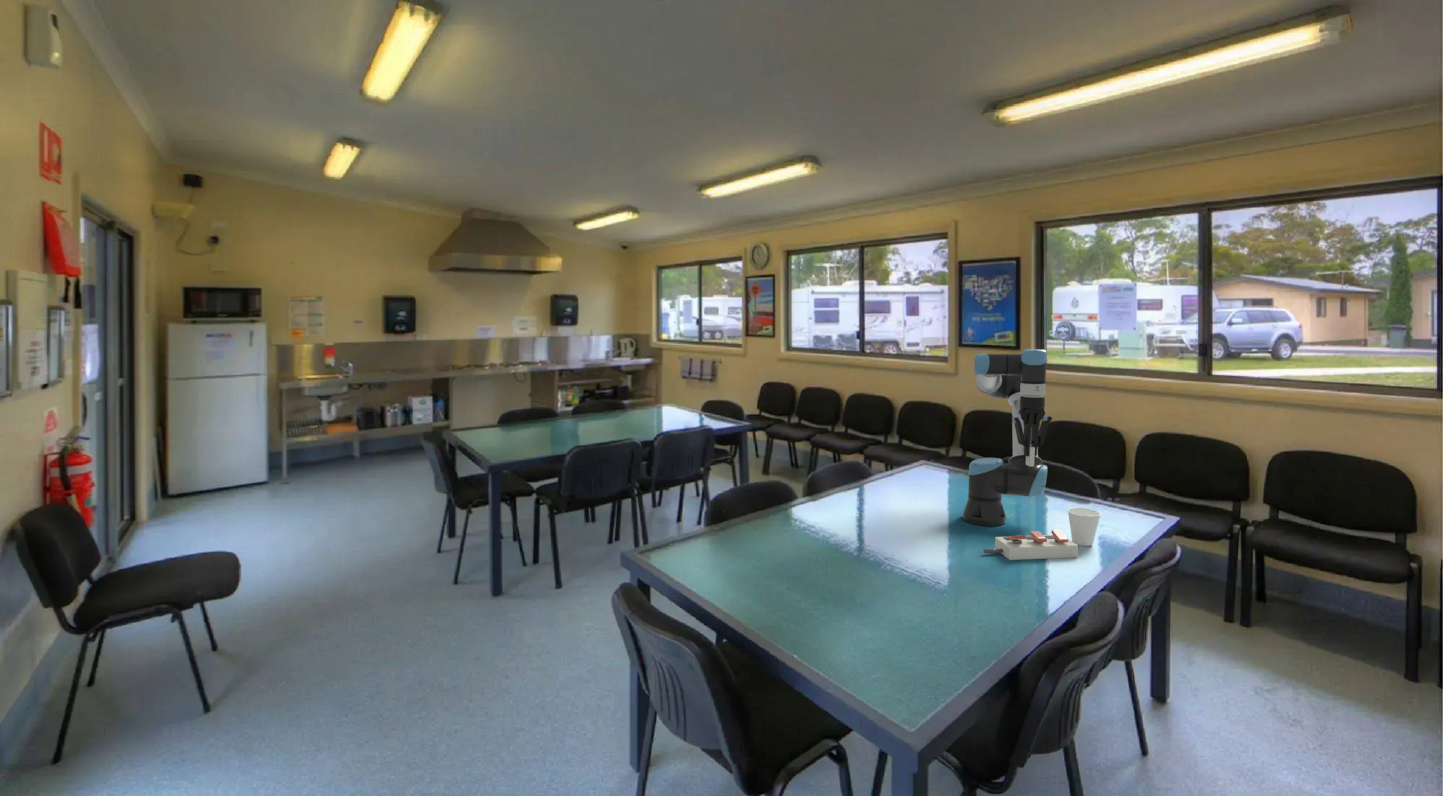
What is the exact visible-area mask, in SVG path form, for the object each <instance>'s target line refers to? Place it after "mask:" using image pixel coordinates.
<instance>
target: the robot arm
mask: <svg viewBox="0 0 1443 796" xmlns="http://www.w3.org/2000/svg"><path fill="white" fill-rule="evenodd" d="M1047 354H1048V353H1047V351H1046V350H1045V349H1040V348H1038V349H1037V348H1036V349H1033V348H1032V349H1031V348H1030V349H1023V350H1022V351H1021V353H987V352H985V353H977V354H975V355H974V361H973V362H974V363H973V369H974V370H973V374H975V376H976V377H975V386H976V387H977V389H978V391H980V392H981V393H983V394H984V395H986V396H988V397H991V398H994V399H1004V400H1005V399H1007V403H1008V404H1009V405H1010V406H1011V411H1012V413H1011V414H1012V415H1011V423H1012V424H1011V425H1012V456H1011V457H1010V458H1009V459H1008V461H1007V463H1005V462H1004V461H1003V459H1002V458H999V457H982V458H977V459H974V460H972V461H971V462H970V463H969V465H968V472H967V474H968V486H967V487H968V490H967V491H968V493H967V501H966V503H965V505H964V508H963V511H962V520H964V521H965V522H967V523H969V524H973V525H978V526H986V527H987V526H988V527H991V526H994V527H995V526H1001V525H1005V523H1006V522H1007V515H1006V512H1005V509H1004V506H1003V502H1002V497H1003V496H1002V495H1007V496H1008V495H1009V496H1019V497H1020V496H1021V497H1029V498H1032V497H1034V498H1035V497H1038V498H1039V497H1042V496H1043V495H1044V493H1045V490H1046V484H1047V477H1048V465H1046V464H1044V463H1043V462H1044V461H1043V459H1041V457H1039V452H1038V448H1039V447H1040V446H1041V445H1044V444H1045V443H1044V442H1045V438H1046V435H1047V431H1048V428H1049V425H1050V422H1051V421H1052V420H1053V417H1052V416H1050V415H1048V414H1046V411H1045V407H1046V406H1045V405H1046V398H1045V395H1046V383H1047V382H1046V380H1047V379H1046V375H1047V362H1048V359H1047V358H1048V357H1047V356H1048V355H1047Z"/></svg>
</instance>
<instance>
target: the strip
mask: <svg viewBox="0 0 1443 796" xmlns="http://www.w3.org/2000/svg"><path fill="white" fill-rule="evenodd" d="M1043 535H1044V536H1045V537H1046V538H1047V542H1037V541H1036V540H1035V539H1034V538H1033V537H1032V536H1031V535H1025V539H1013V540H1009V536H995V537H994V538H995V540H994V548H989V549H988V548H985V549H983V550H982V553H983V554H994V553H995V554H998V553H999V554H1001V555H1002V556H1004V557H1005V558H1007V559H1008V560H1009V561H1017V560H1020V561H1021V560H1042V559H1043V560H1044V559H1047V560H1048V559H1069V558H1070V559H1071V558H1078V553H1079V552H1078V550H1079V545H1077V544H1075V543H1073V542H1072V540H1070V539H1069V540H1068V542H1062V543H1059V542H1058V541H1057V539H1056V538H1055V537H1054V535H1053V534H1047V535H1046V534H1043Z"/></svg>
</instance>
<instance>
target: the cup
mask: <svg viewBox="0 0 1443 796" xmlns="http://www.w3.org/2000/svg"><path fill="white" fill-rule="evenodd" d="M1066 511H1067V515H1068V521H1069V528H1070V533H1071V534H1070V535H1071V541H1072V542H1073V543H1075V544H1077V545H1078V546H1081V547H1090V546H1091V547H1092V545H1094V542H1095V537H1096V533H1097V529H1098V525H1099V521H1100V519H1101V518H1100V517H1101V516H1102V513H1101V512H1100V511H1098V510H1095V509H1093V508H1092V509H1091V508H1087V507H1069V508H1067V509H1066Z"/></svg>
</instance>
